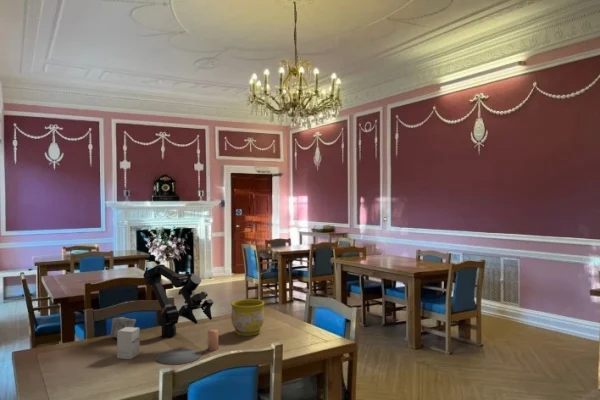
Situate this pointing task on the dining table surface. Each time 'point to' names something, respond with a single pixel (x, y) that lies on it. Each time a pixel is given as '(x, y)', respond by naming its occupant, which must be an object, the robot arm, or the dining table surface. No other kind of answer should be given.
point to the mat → (178, 356)
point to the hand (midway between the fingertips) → (204, 321)
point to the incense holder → (121, 324)
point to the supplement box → (128, 342)
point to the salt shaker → (213, 340)
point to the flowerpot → (247, 316)
